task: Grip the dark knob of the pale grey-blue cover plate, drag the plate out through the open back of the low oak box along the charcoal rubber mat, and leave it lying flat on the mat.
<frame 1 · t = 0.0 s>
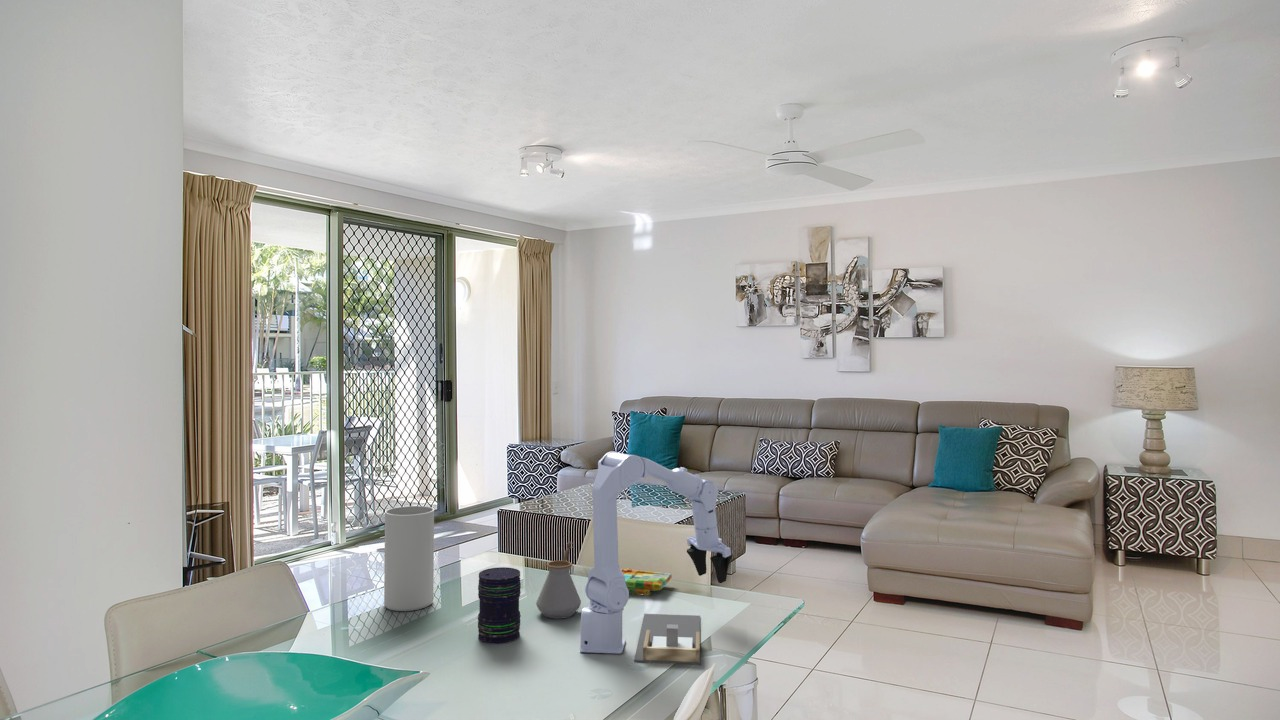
hand: (712, 578, 186), 11 cm above the table, tool pointing down, fingers open, 7 cm apart
storage jar: (499, 637, 173), on the table
puzzle game: (632, 590, 211), on the table
rubber mat: (669, 637, 173), on the table
cylinder vase: (409, 605, 196), on the table
cover plate: (672, 649, 165), resting on rubber mat
grey faceted twig vase: (562, 608, 194), on the table
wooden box: (672, 651, 165), resting on rubber mat
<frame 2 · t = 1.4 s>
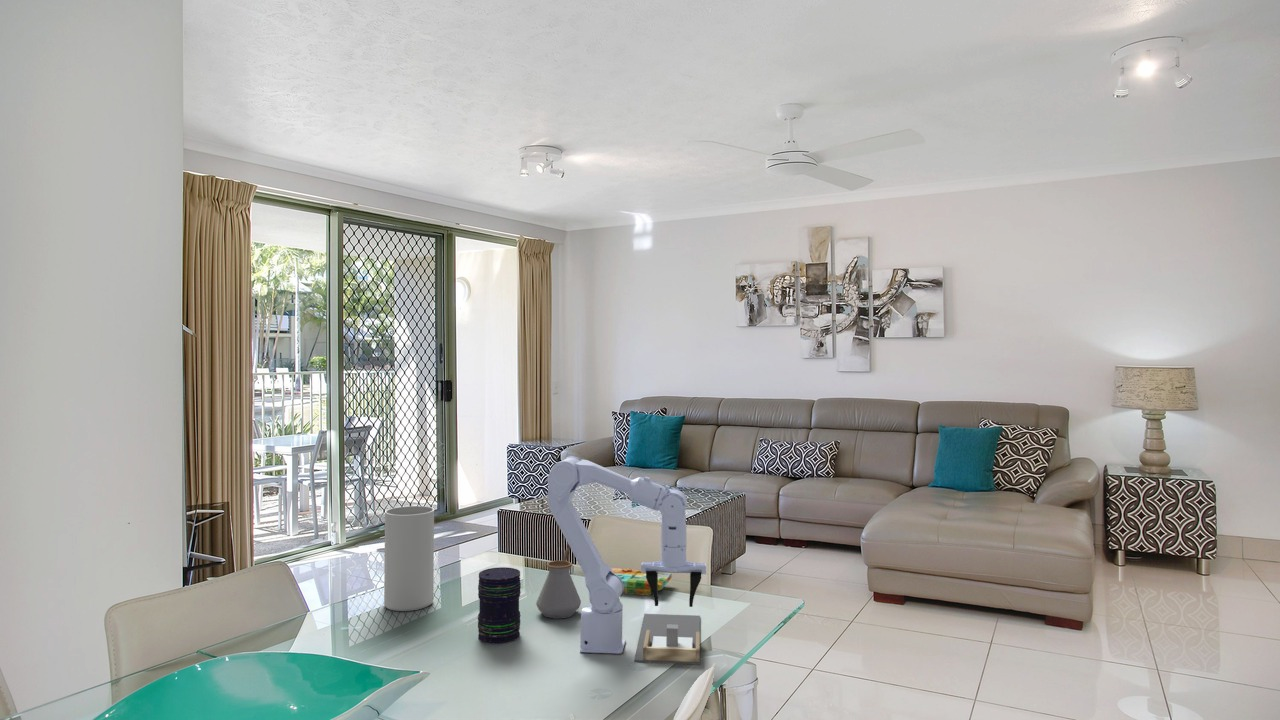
hand: (673, 605, 165), 10 cm above the table, tool pointing down, fingers open, 7 cm apart
nothing on the table moved.
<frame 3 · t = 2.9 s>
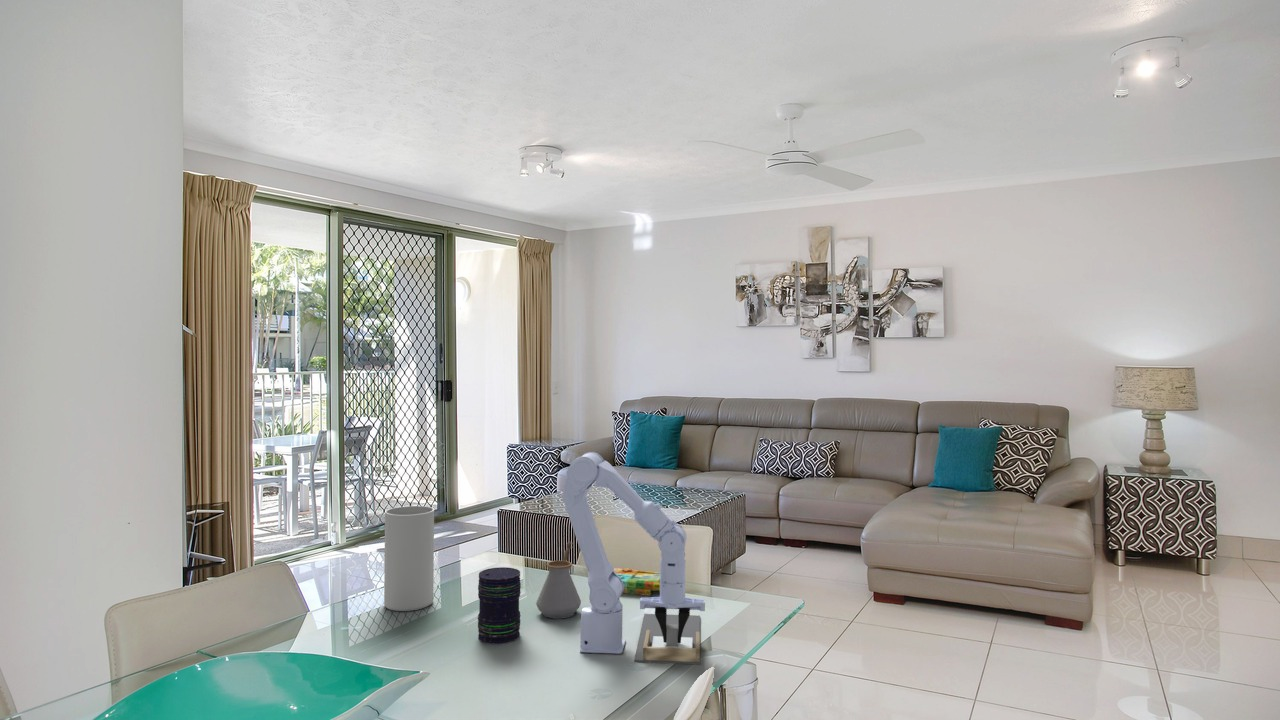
hand: (672, 641, 165), 2 cm above the table, tool pointing down, fingers closed on cover plate, 2 cm apart
cover plate: (672, 649, 165), resting on rubber mat, touching gripper
everything else where it was.
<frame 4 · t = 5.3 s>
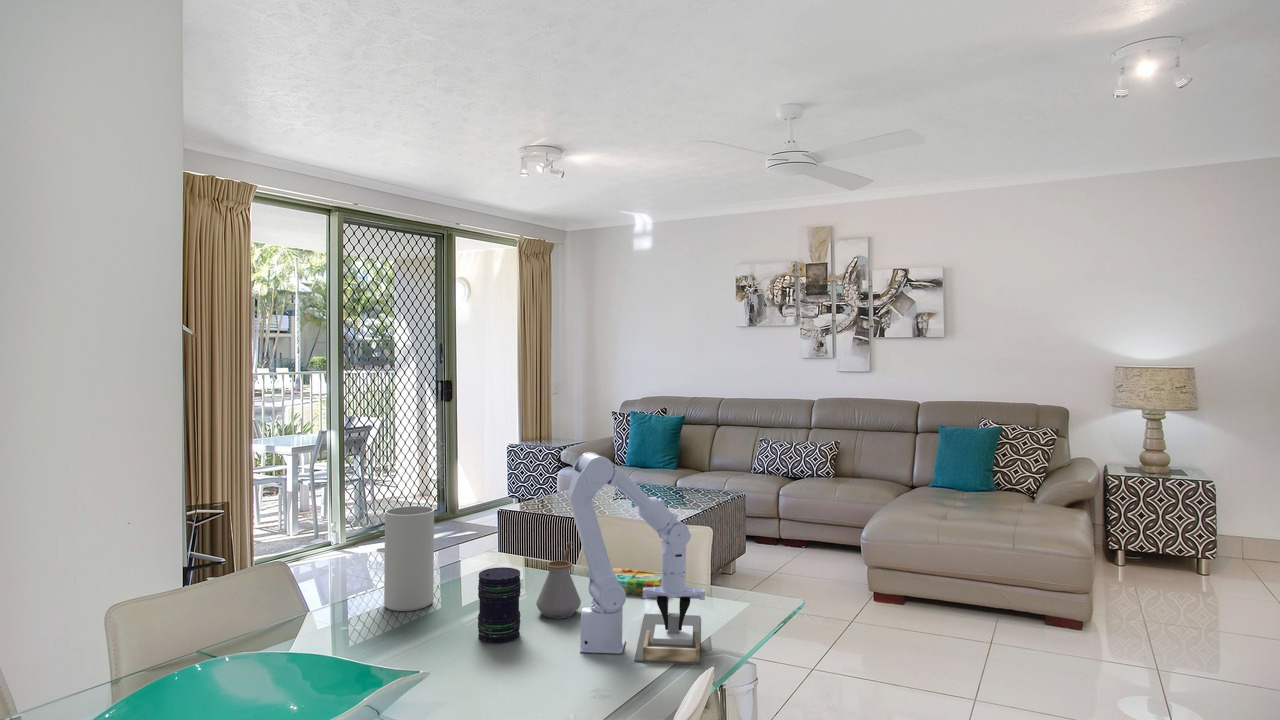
hand: (673, 628, 173), 2 cm above the table, tool pointing down, fingers closed on cover plate, 2 cm apart
cover plate: (673, 637, 173), resting on rubber mat, touching gripper
everything else where it was.
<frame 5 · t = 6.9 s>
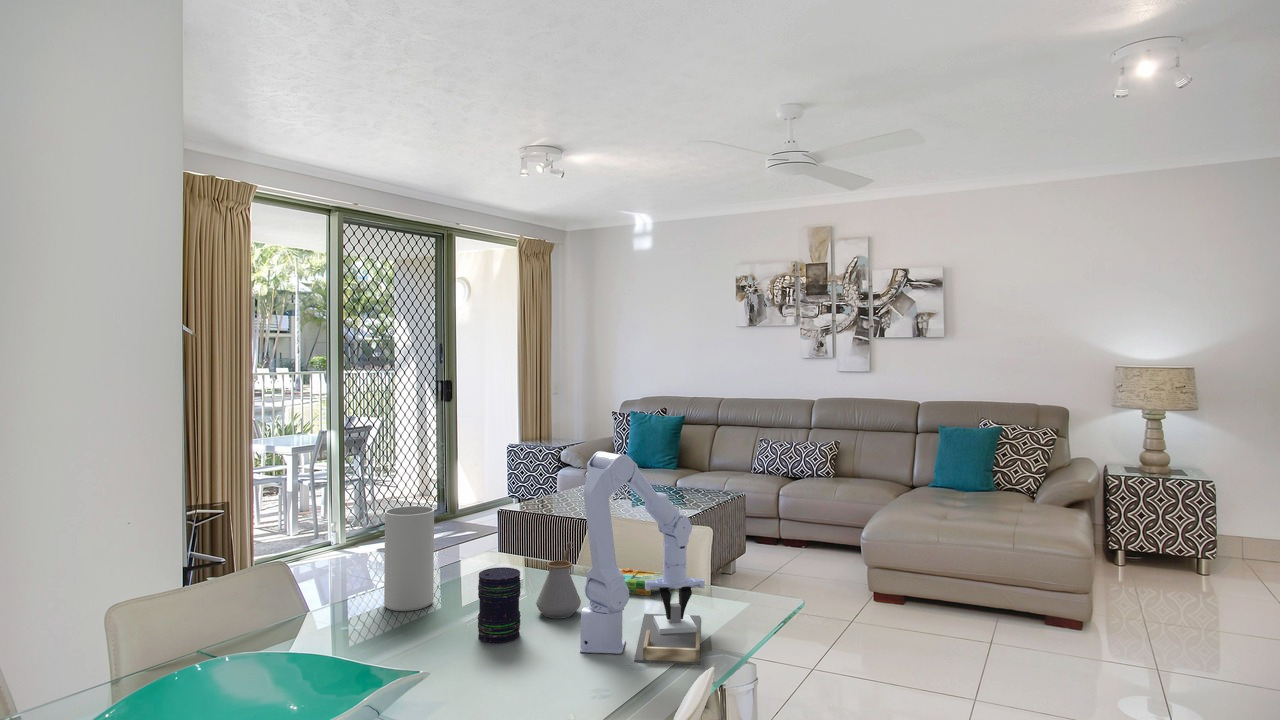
hand: (674, 618, 180), 2 cm above the table, tool pointing down, fingers closed on cover plate, 2 cm apart
cover plate: (674, 626, 180), resting on rubber mat, touching gripper
everything else where it was.
when the fingers open (2 cm above the table, at t = 7.5 s): cover plate stays where it is, resting on rubber mat.
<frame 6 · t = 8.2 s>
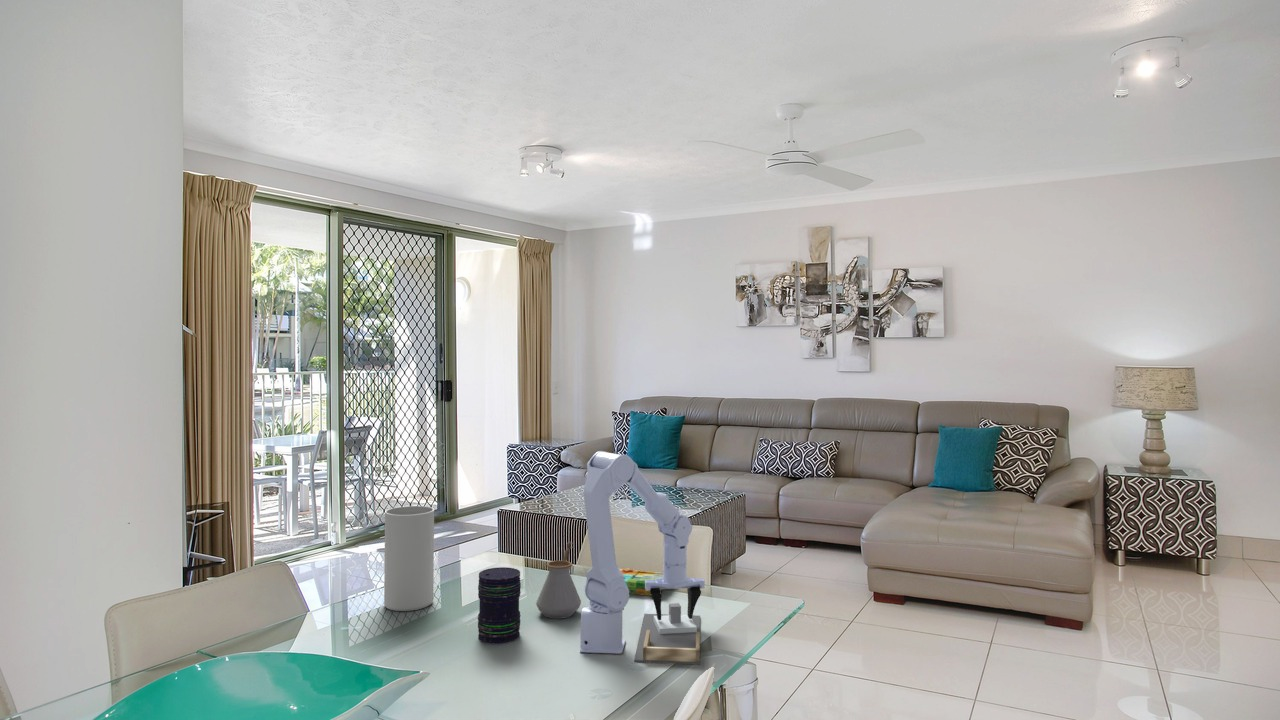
hand: (674, 618, 180), 2 cm above the table, tool pointing down, fingers open, 7 cm apart
cover plate: (674, 626, 180), resting on rubber mat
everything else where it was.
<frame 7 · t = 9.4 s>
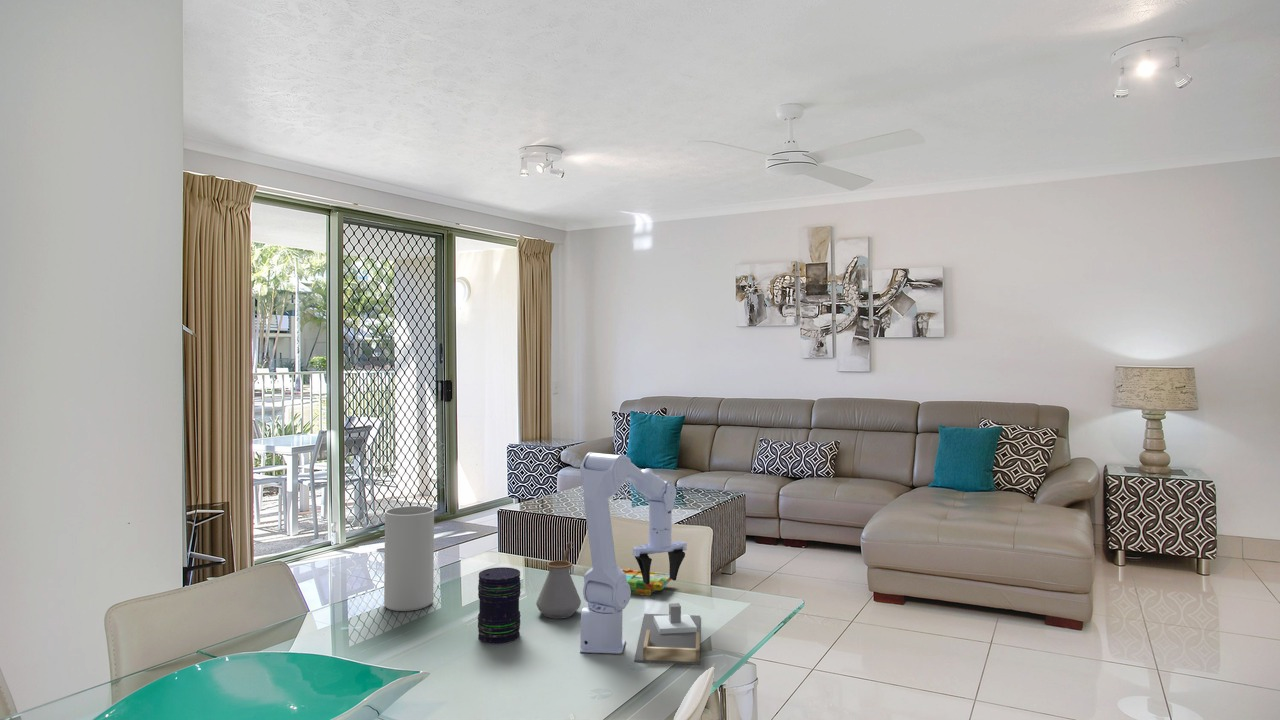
hand: (659, 581, 186), 9 cm above the table, tool pointing down, fingers open, 7 cm apart
nothing on the table moved.
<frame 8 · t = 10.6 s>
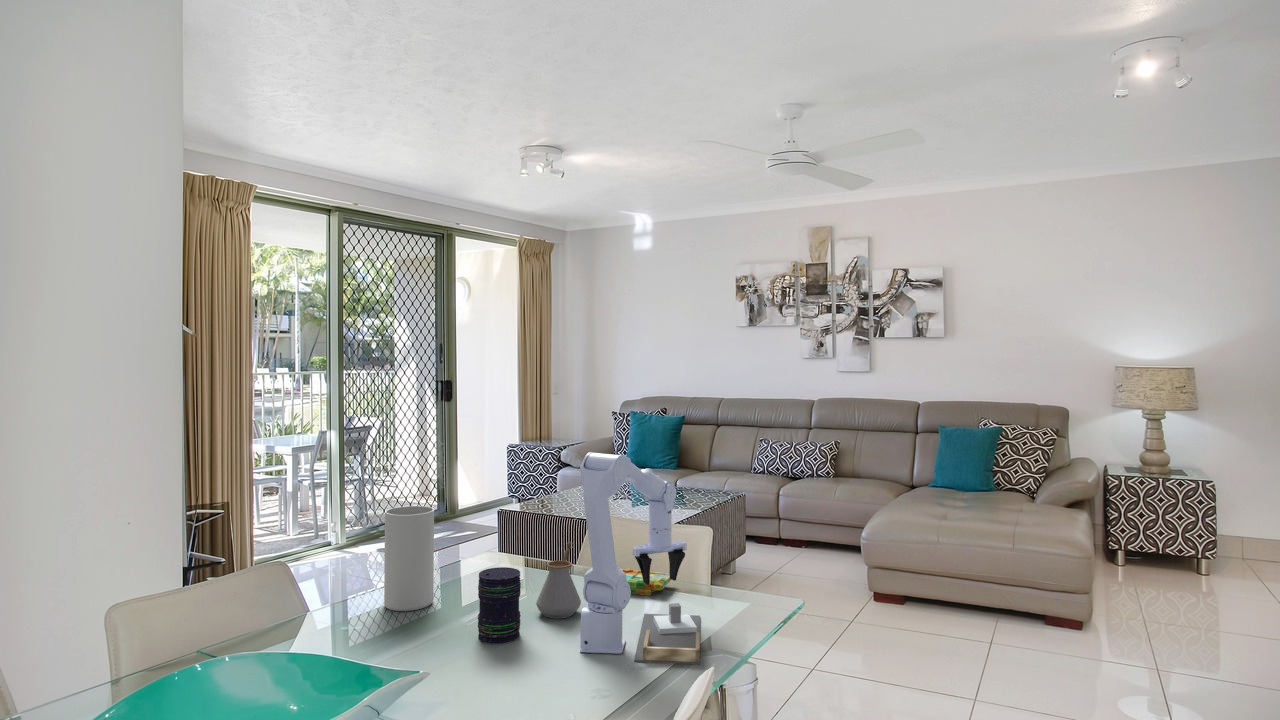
hand: (659, 581, 186), 9 cm above the table, tool pointing down, fingers open, 7 cm apart
nothing on the table moved.
at the end: cover plate inside the target area (0.8 cm from its centre), resting on rubber mat; cover plate tilted 0°; the gripper is holding nothing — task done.
